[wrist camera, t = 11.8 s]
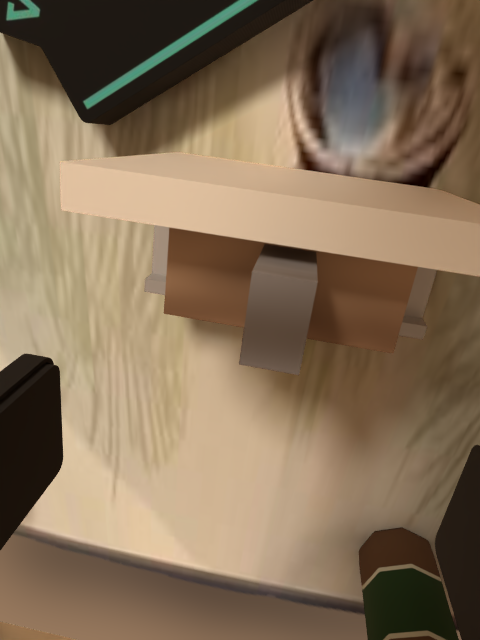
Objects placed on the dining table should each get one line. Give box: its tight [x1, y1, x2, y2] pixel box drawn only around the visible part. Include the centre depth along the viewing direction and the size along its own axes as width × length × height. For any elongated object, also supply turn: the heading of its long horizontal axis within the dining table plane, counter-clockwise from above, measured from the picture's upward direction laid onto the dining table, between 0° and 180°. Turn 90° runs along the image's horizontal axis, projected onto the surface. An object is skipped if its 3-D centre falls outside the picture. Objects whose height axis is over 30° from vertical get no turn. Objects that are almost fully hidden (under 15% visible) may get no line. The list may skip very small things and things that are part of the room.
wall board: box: [60, 152, 480, 340], centre depth 28 cm, size 10×20×18 cm, turn 83°
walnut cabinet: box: [164, 227, 418, 375], centre depth 25 cm, size 5×12×15 cm, turn 83°
